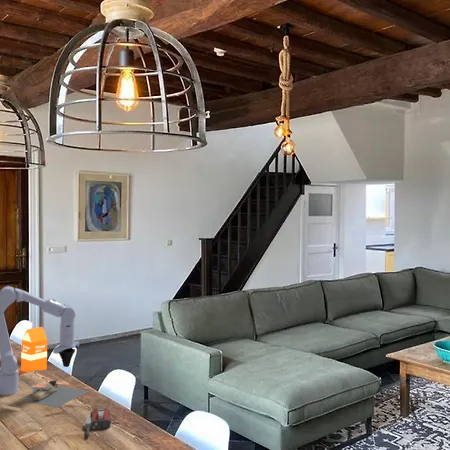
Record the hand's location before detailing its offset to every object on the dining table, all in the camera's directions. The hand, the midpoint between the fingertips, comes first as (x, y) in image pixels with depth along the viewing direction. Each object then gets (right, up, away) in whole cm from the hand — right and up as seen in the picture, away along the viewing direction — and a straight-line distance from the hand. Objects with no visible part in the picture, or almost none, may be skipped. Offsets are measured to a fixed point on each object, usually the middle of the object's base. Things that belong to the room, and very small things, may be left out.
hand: (66, 366), depth 215 cm
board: (-1, -10, -11) cm, 15 cm away
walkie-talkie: (+23, -11, -38) cm, 46 cm away
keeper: (-7, -8, -11) cm, 15 cm away
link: (-5, -8, -12) cm, 15 cm away
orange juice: (-24, -9, +25) cm, 36 cm away
